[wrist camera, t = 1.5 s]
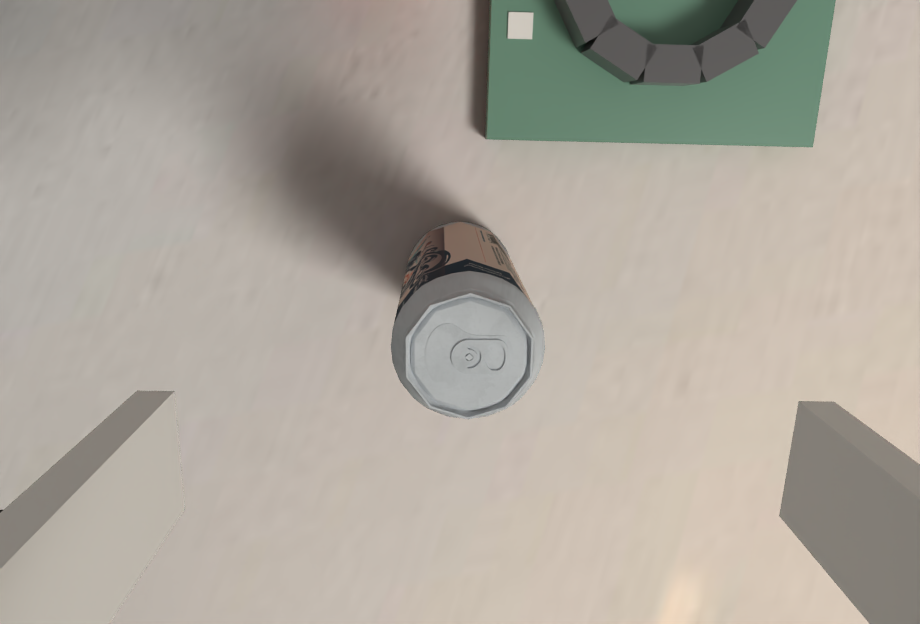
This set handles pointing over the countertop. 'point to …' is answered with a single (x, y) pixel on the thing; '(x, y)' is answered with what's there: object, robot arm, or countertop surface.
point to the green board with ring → (657, 71)
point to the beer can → (465, 325)
